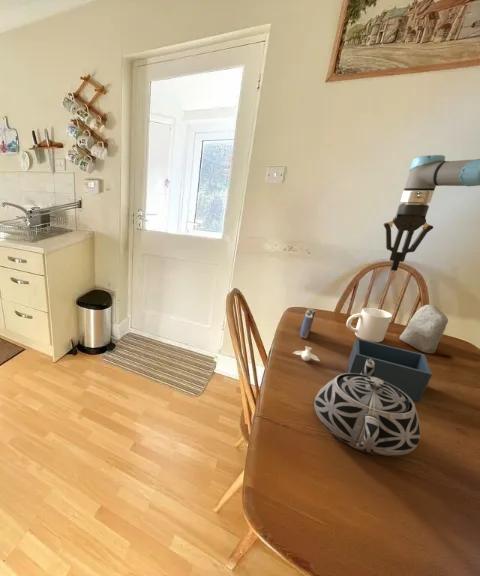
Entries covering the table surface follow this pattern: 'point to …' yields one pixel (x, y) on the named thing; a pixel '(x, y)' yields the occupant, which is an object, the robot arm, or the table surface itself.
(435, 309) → the decorative stone
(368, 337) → the mug
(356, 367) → the box
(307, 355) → the toy bird
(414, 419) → the teapot
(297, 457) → the table surface
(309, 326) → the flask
